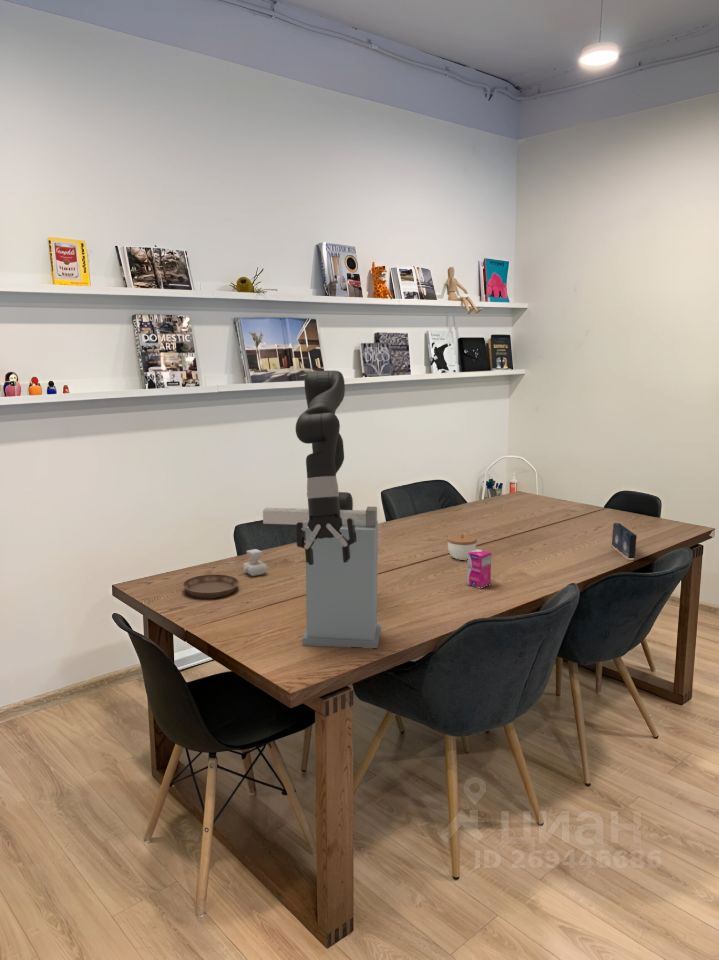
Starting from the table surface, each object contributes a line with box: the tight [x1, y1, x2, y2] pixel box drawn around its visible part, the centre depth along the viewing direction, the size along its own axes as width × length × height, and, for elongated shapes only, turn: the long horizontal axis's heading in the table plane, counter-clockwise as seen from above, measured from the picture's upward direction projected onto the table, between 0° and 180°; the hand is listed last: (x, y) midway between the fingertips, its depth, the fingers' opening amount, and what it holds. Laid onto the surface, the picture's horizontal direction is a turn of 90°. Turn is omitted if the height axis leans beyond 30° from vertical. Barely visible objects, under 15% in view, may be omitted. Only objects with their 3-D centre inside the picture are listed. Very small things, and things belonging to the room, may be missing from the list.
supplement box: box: [466, 548, 492, 588], centre depth 245 cm, size 6×6×12 cm
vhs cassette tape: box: [611, 522, 638, 558], centre depth 282 cm, size 18×3×10 cm, turn 179°
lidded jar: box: [446, 533, 478, 559], centre depth 276 cm, size 11×11×9 cm
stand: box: [301, 520, 382, 649], centre depth 200 cm, size 20×12×32 cm, turn 84°
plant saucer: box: [182, 573, 240, 599], centre depth 240 cm, size 18×18×3 cm
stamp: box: [242, 548, 269, 577], centre depth 256 cm, size 9×7×8 cm
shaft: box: [262, 506, 378, 527], centre depth 197 cm, size 30×4×4 cm, turn 84°
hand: (328, 563), depth 178 cm, fingers open, 8 cm apart
